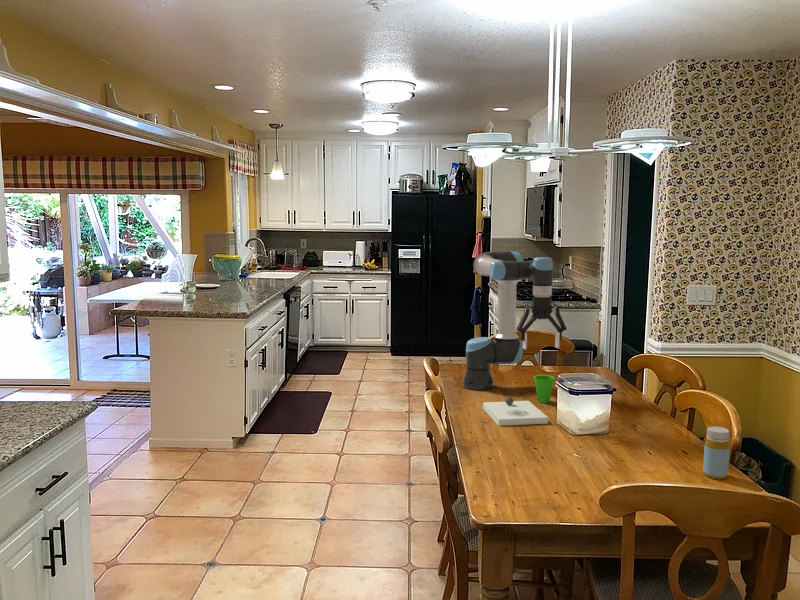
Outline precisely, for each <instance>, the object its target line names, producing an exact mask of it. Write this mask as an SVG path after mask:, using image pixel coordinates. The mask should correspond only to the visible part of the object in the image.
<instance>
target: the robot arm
mask: <svg viewBox="0 0 800 600" xmlns="http://www.w3.org/2000/svg"><path fill="white" fill-rule="evenodd" d="M472 265H473V270H474V271H475V272H476V273H477V274H478V275H480V276H485V277H490V279H492V280H493V281H496V283H497V284H498V285H497V286H498V287H497V288H498V289H497V332H496V334H495V335H493V336H494V337H493V338H494V340H492V339H491V337H487V336H481V337H474V338H470V339H469V340H467V342H466V345H465V347H466V348H465V373H464V376H463V378H462V384H461V386H462V388H464V389H467V390H471V391H472V390H473V391H474V390H475V391H486V390H491V389H494V387H495V382H494V377H493V375H492V372H491V366H494V365H496V366H497V365H514V364H518V363H520V361H521V360H522V357H523V352H524V350H528V349H527V348H528V346H527V345H528V332H527V331H528V330H529V328H531V326H532V325H533V323H534V322H536V321H537V320H548V322H550V323H551V324H552V325H553V327H554V328H555V330H557V331H555V337H554V348H556V349H560V341H561V340H562V337H563V335H562V334H563V332H565V331H566V330H567V327H566V324H565V322H564V319H563V318H562V315H561V313H560V308H559V307H557V306H555V307H552V301H553V298H552V295H553V269H554V266H553V259H552V258H551V257H542V256H539V257H534V258H533V260H531V259H530V260H525V261H524V258H523V256H522V254H521V253H520V252H518V251H486V252H482V253H480V254H478V255H477V256H476V257H475V258H474V260H473V263H472ZM521 280H532V295H533V296H532V305H531V306H532V308H528V307H525V308H524V312H523V315H522V317H521V319H520V320H519V323H518V324H517V285H518V283H519V282H520V281H521ZM531 313H532V315H531V316H530V318H529V315H530V314H531ZM552 313H553V314H554V315H555V317H556V319H557V322H558V323H557V322H556V320H555V319H554V318H553V316H552V315H551V314H552ZM528 318H529V319H528ZM527 319H528V320H527ZM526 321H527V322H526ZM516 331H517V332H519V333H520V337H519V335H518V334H517V332H516Z"/></svg>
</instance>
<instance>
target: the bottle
mask: <svg viewBox="0 0 800 600" xmlns="http://www.w3.org/2000/svg"><path fill="white" fill-rule="evenodd" d="M729 437H730V430H729V429H728V428H725V427H723V426H714V425H712V426H708V427H707V428H706V438H705V441H704V450H703V452H704V453H703V466H702V470H703V475H704V476H705V477H707V478H709V479H712V480H717V481H718V480H719V481H720V480H726V479H727V478H728V476H729V467H730V466H729V465H730V464H729V463H730V450H731V447H730V446H731V445H730V443H729V441H730V440H729Z"/></svg>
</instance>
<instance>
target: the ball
mask: <svg viewBox="0 0 800 600" xmlns="http://www.w3.org/2000/svg"><path fill="white" fill-rule="evenodd" d="M513 401H514V399H513V398H512V397H507V398H505V402H506V404H508V405H511V404H512V403H513Z"/></svg>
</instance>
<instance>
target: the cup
mask: <svg viewBox="0 0 800 600" xmlns="http://www.w3.org/2000/svg"><path fill="white" fill-rule="evenodd" d="M533 378H534V384H535V391H536V399H537V402H538V403H541V404H549V403H550V402H551V395H552V390H553V386H554V381H555V379H556V378H555V377H554V376H553V375H550V374H548V375H547V374H538V375H536V374H535V375H534V376H533Z"/></svg>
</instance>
